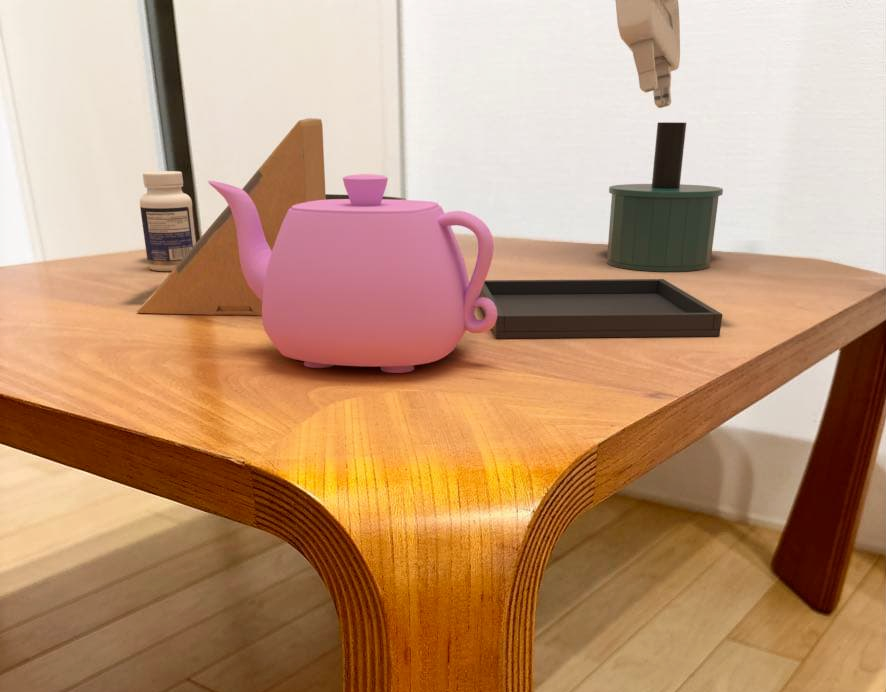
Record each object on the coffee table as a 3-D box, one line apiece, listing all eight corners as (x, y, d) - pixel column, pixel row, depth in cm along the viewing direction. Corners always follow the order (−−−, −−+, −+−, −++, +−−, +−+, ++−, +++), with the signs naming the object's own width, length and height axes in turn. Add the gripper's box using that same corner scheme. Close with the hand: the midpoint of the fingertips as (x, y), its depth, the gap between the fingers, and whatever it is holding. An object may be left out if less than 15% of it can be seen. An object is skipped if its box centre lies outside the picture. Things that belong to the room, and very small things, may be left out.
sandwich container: (167, 295, 85) (146, 117, 78) (331, 297, 84) (322, 118, 77) (133, 313, 77) (106, 117, 71) (313, 316, 76) (302, 118, 70)
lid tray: (661, 297, 84) (663, 278, 84) (719, 336, 70) (722, 313, 69) (476, 299, 83) (476, 280, 83) (495, 338, 69) (496, 315, 68)
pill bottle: (159, 264, 102) (147, 170, 98) (206, 264, 102) (196, 170, 98) (140, 271, 97) (127, 173, 93) (189, 272, 97) (177, 173, 93)
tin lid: (701, 194, 106) (709, 122, 103) (737, 204, 95) (748, 123, 92) (598, 195, 106) (603, 121, 102) (622, 204, 95) (629, 122, 91)
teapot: (513, 342, 67) (518, 171, 62) (475, 390, 56) (479, 184, 51) (262, 328, 72) (248, 166, 67) (178, 370, 60) (154, 178, 55)
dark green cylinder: (692, 256, 109) (699, 189, 106) (724, 271, 99) (733, 197, 95) (597, 257, 108) (602, 189, 105) (620, 272, 98) (626, 197, 95)
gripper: (654, -75, 92) (670, 71, 95) (683, -14, 111) (695, 107, 113) (593, -54, 95) (610, 87, 98) (632, 2, 113) (645, 120, 116)
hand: (656, 98), depth 106 cm, fingers open, 8 cm apart
